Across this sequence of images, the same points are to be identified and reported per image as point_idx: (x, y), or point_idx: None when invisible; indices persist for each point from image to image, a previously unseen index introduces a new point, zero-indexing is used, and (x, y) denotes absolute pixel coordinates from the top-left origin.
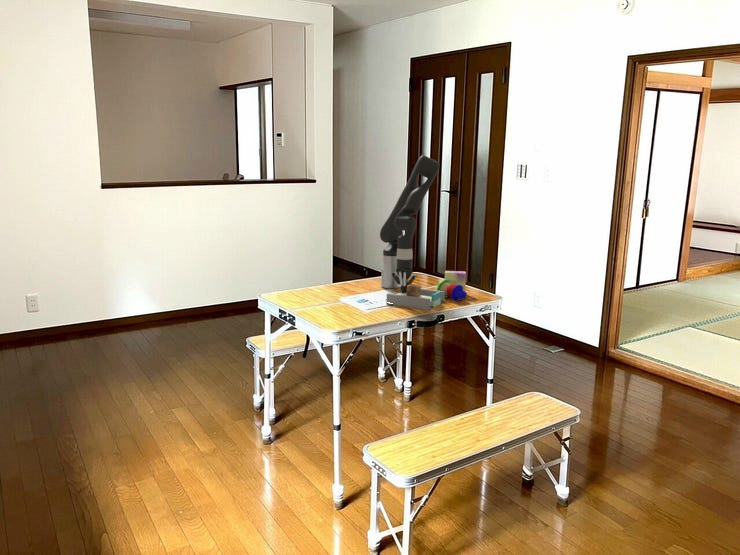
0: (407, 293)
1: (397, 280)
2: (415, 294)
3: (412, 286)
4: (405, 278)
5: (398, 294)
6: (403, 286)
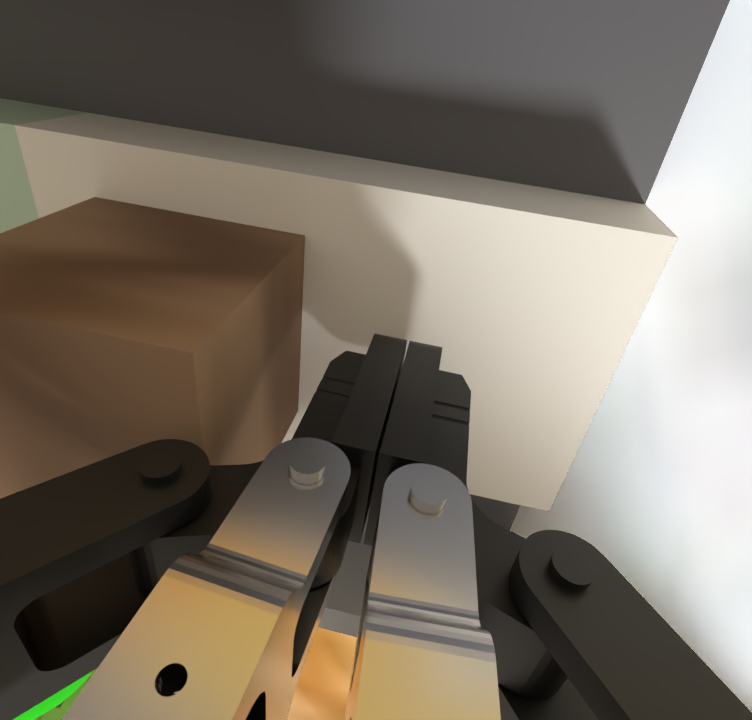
0: (255, 260)
1: (616, 672)
2: (54, 224)
3: (83, 426)
4: (94, 703)
5: (532, 387)
6: (361, 441)
